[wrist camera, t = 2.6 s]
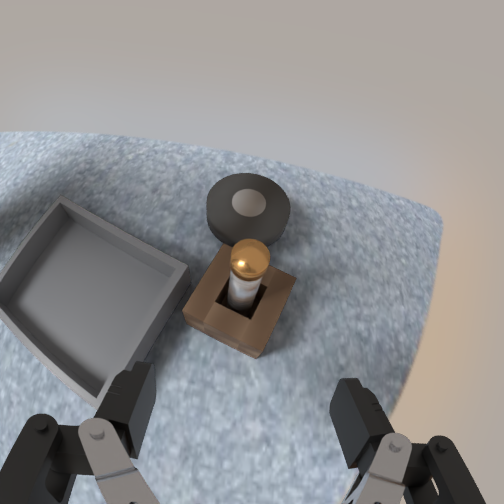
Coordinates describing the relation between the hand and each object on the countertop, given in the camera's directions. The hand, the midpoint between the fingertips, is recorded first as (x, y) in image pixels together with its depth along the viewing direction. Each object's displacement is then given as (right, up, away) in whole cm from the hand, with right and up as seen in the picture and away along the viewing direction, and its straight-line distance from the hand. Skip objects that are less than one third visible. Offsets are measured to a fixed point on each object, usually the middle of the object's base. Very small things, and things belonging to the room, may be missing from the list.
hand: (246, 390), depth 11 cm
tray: (-17, +1, +14) cm, 22 cm away
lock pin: (-1, +1, +15) cm, 15 cm away
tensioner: (-1, +5, +18) cm, 19 cm away
